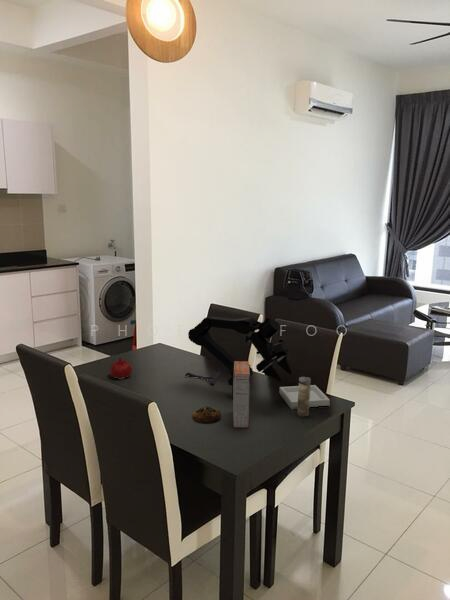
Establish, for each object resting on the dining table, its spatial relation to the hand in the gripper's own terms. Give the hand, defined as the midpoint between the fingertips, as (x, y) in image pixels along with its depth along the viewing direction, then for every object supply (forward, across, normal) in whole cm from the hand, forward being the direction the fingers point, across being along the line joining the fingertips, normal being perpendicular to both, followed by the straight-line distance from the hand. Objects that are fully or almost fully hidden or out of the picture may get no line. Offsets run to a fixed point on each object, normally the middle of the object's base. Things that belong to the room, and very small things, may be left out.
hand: (286, 377), depth 197 cm
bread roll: (-5, -24, +25) cm, 35 cm away
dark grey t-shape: (-23, +9, +43) cm, 49 cm away
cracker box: (+3, -18, +16) cm, 25 cm away
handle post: (+15, 0, +4) cm, 16 cm away
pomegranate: (-45, -11, +64) cm, 79 cm away
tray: (+11, +13, +8) cm, 19 cm away
